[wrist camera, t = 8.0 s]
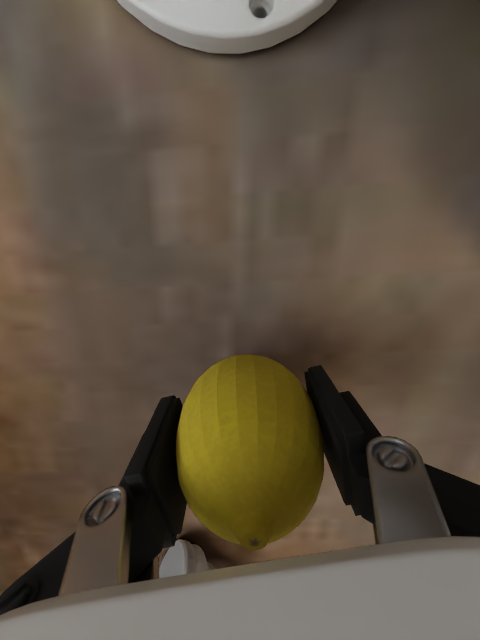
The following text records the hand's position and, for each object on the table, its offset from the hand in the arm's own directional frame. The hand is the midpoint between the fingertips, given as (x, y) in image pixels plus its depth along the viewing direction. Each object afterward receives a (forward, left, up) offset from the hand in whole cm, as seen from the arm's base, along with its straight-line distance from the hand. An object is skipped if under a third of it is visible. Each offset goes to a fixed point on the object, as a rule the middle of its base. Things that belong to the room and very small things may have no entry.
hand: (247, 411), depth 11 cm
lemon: (0, 0, -3) cm, 3 cm away
